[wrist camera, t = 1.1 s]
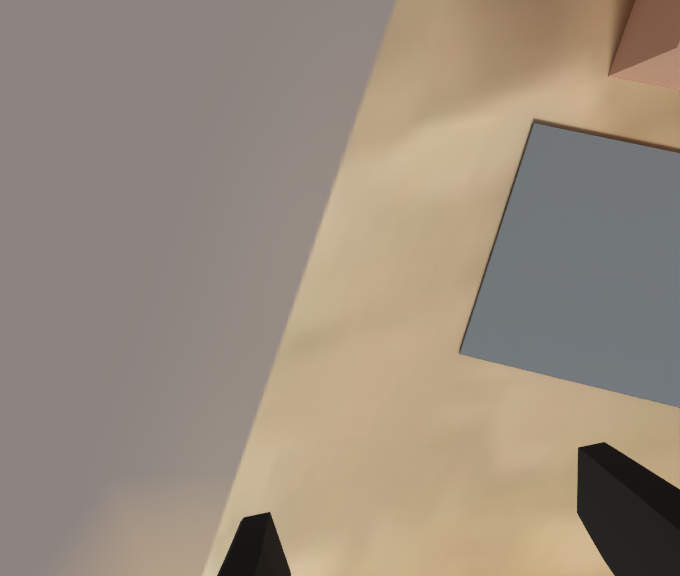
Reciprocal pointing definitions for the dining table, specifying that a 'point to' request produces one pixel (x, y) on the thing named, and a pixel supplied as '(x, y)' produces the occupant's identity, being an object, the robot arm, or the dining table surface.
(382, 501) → the dining table surface
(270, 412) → the dining table surface
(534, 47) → the dining table surface
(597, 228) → the slate mat
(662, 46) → the terracotta block
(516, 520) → the dining table surface
